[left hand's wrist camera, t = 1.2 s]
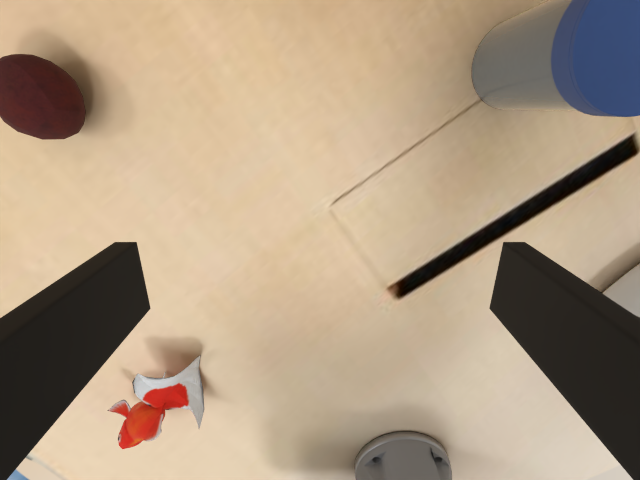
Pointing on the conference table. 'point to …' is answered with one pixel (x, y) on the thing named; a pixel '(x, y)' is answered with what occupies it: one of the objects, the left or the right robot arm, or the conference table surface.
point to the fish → (159, 404)
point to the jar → (520, 61)
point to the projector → (627, 291)
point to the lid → (599, 57)
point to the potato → (39, 98)
